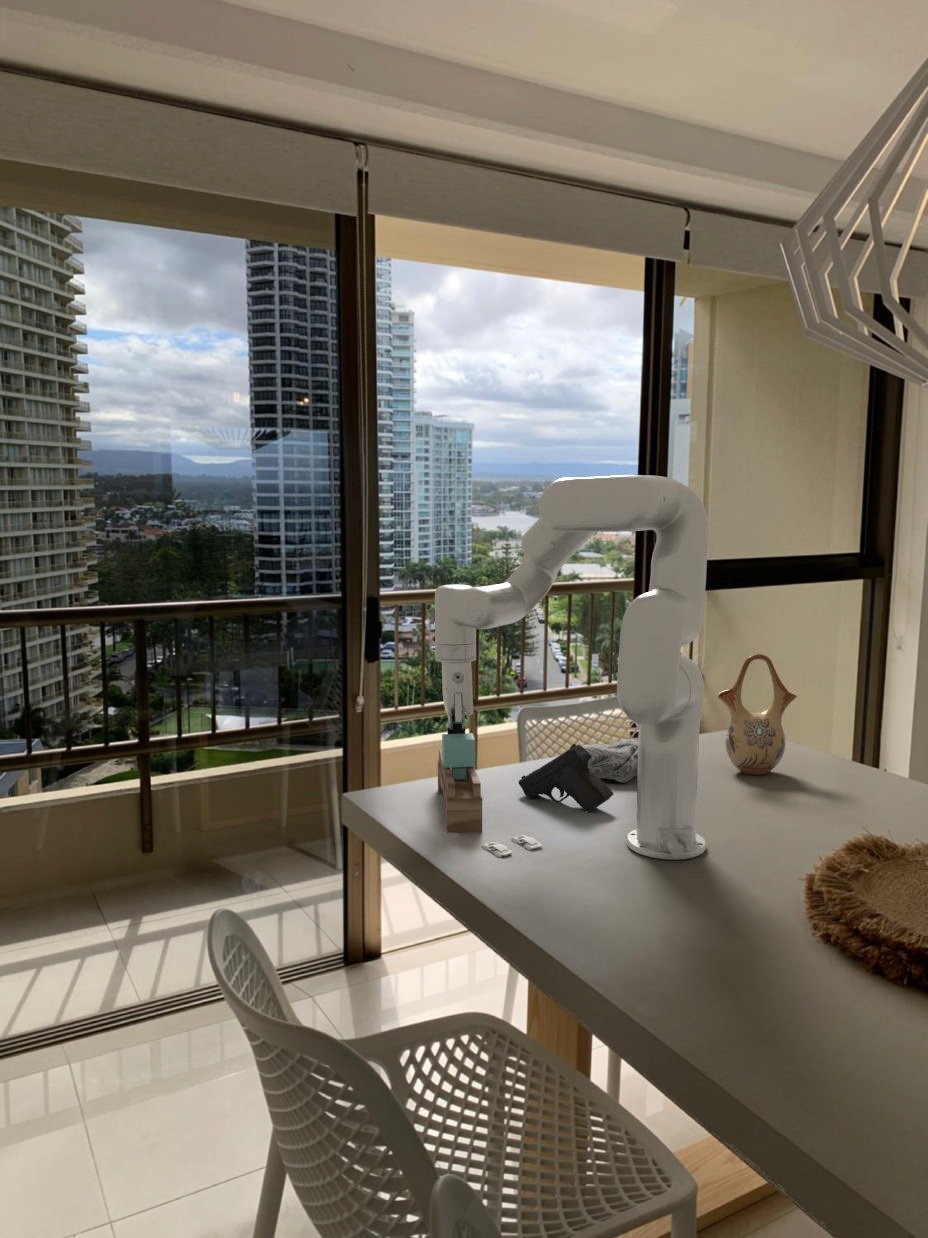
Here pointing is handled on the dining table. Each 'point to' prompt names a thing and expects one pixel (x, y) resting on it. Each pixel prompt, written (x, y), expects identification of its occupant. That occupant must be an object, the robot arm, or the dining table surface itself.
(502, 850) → the white curved pieces
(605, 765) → the decorative stone
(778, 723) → the ceramic vessel
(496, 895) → the dining table surface
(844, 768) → the dining table surface
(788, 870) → the dining table surface
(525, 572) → the robot arm
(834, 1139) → the dining table surface
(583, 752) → the handgun
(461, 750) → the teal rectangular block
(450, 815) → the beam
